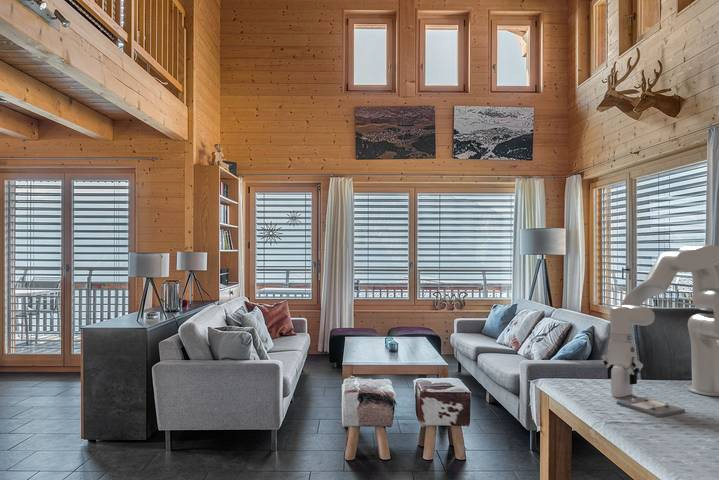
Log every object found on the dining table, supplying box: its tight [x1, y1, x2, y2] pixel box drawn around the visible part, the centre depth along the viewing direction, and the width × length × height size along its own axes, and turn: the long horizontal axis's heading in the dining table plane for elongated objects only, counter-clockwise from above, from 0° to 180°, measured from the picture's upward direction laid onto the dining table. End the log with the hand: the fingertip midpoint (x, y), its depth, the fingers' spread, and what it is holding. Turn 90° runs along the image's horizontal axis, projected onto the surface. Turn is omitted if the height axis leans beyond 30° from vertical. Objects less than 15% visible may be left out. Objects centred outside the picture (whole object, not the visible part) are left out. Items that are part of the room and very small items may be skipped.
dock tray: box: [616, 396, 686, 418], centre depth 171 cm, size 14×16×2 cm
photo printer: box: [610, 365, 634, 399], centre depth 187 cm, size 10×4×12 cm, turn 123°
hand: (621, 381), depth 187 cm, fingers open, 9 cm apart
